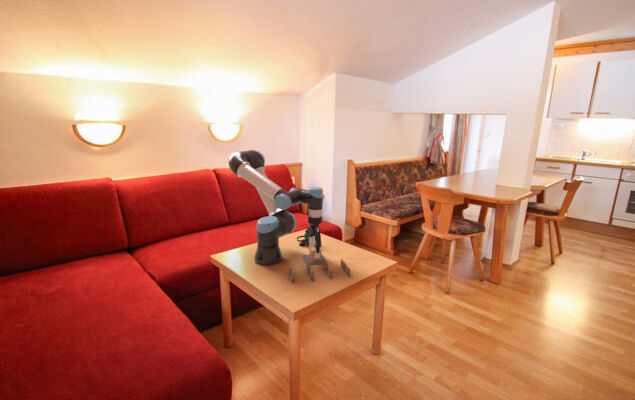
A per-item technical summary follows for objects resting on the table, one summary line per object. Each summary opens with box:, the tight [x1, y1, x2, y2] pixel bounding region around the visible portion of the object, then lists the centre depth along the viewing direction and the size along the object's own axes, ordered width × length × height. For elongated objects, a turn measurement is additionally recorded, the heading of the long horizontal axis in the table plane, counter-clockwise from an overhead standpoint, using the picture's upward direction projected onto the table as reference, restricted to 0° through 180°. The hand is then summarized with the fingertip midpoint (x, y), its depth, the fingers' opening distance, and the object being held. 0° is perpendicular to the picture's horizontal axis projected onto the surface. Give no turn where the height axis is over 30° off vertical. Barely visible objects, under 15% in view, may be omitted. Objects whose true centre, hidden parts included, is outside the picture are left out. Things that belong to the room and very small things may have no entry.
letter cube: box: [308, 246, 322, 261], centre depth 176 cm, size 6×6×6 cm
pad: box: [302, 252, 328, 266], centre depth 177 cm, size 11×11×1 cm
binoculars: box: [296, 226, 310, 247], centre depth 198 cm, size 9×11×10 cm
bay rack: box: [288, 259, 351, 284], centre depth 160 cm, size 12×29×4 cm, turn 104°
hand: (314, 252), depth 176 cm, fingers open, 13 cm apart
